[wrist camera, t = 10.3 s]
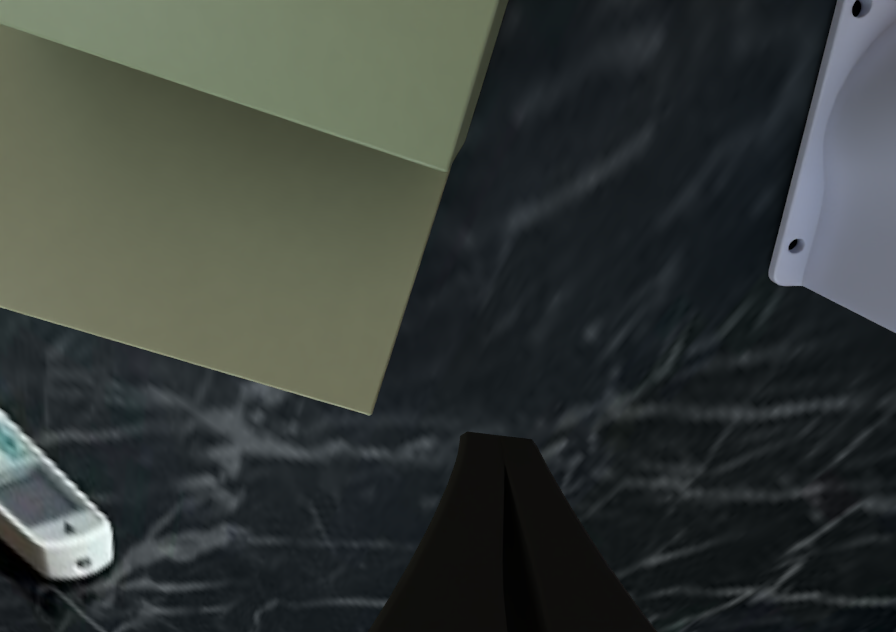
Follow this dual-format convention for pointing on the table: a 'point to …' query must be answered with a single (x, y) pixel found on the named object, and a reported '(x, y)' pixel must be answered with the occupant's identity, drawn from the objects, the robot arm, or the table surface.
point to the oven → (302, 59)
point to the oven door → (203, 225)
